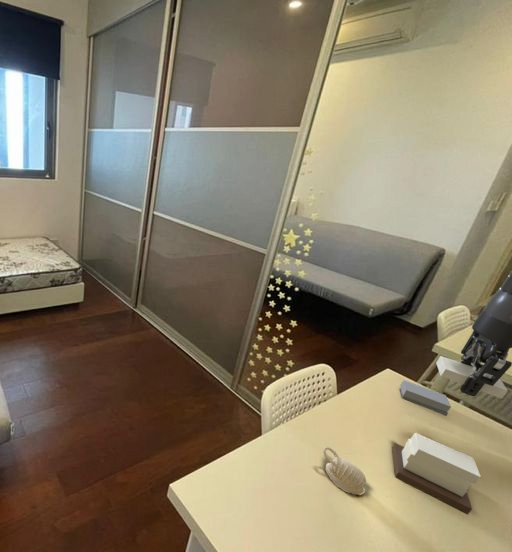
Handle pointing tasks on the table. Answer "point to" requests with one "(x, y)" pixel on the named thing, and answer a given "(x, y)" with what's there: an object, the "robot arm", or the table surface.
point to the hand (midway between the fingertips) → (463, 384)
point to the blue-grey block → (425, 397)
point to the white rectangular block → (462, 372)
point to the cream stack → (436, 470)
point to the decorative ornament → (345, 474)
